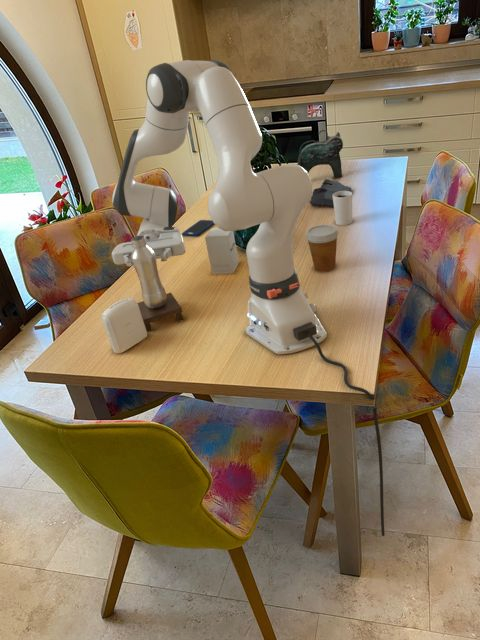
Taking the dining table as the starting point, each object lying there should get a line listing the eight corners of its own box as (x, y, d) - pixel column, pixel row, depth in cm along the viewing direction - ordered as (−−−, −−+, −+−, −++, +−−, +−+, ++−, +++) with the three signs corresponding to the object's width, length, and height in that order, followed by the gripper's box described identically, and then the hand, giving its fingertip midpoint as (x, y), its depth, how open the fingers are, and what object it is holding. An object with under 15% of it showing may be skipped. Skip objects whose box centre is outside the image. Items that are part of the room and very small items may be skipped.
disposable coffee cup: (346, 262, 171) (343, 225, 164) (331, 276, 165) (328, 238, 158) (318, 259, 176) (315, 222, 169) (303, 272, 170) (299, 235, 163)
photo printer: (119, 355, 145) (105, 314, 138) (110, 351, 147) (95, 310, 140) (150, 336, 151) (138, 295, 144) (140, 332, 153) (128, 292, 146)
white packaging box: (234, 273, 176) (227, 235, 169) (211, 274, 178) (203, 237, 171) (239, 263, 182) (233, 226, 175) (217, 264, 184) (210, 227, 177)
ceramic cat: (343, 173, 245) (340, 125, 234) (346, 177, 240) (343, 128, 229) (298, 180, 245) (293, 133, 235) (300, 185, 240) (295, 136, 229)
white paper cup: (333, 226, 197) (331, 198, 191) (335, 219, 202) (333, 191, 197) (353, 224, 195) (351, 196, 190) (353, 217, 201) (352, 190, 195)
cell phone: (181, 235, 210) (181, 233, 209) (201, 221, 220) (200, 219, 219) (197, 236, 207) (197, 234, 206) (217, 222, 216) (216, 220, 216)
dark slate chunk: (304, 209, 214) (302, 197, 212) (315, 190, 232) (314, 178, 229) (344, 208, 210) (343, 195, 207) (352, 188, 227) (352, 176, 224)
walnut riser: (184, 320, 156) (181, 307, 153) (146, 332, 153) (142, 320, 151) (173, 304, 164) (170, 292, 162) (137, 316, 161) (133, 303, 159)
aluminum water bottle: (173, 301, 157) (155, 234, 146) (157, 313, 153) (137, 244, 142) (157, 297, 160) (138, 231, 150) (140, 309, 156) (120, 241, 145)
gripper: (113, 237, 161) (104, 256, 150) (183, 226, 161) (180, 244, 149) (119, 257, 165) (111, 277, 153) (188, 246, 164) (185, 266, 153)
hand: (146, 261), depth 151 cm, fingers open, 8 cm apart
